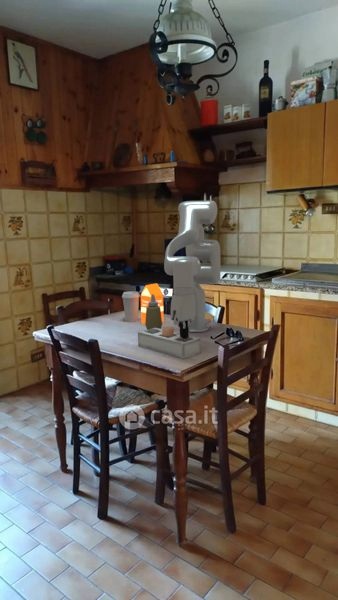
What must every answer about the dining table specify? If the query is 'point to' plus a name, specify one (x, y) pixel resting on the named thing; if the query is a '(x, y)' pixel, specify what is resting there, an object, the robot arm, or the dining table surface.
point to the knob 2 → (184, 339)
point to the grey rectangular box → (169, 344)
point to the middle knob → (167, 332)
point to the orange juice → (147, 298)
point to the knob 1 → (152, 331)
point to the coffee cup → (131, 305)
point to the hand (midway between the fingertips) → (184, 337)
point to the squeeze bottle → (153, 314)
